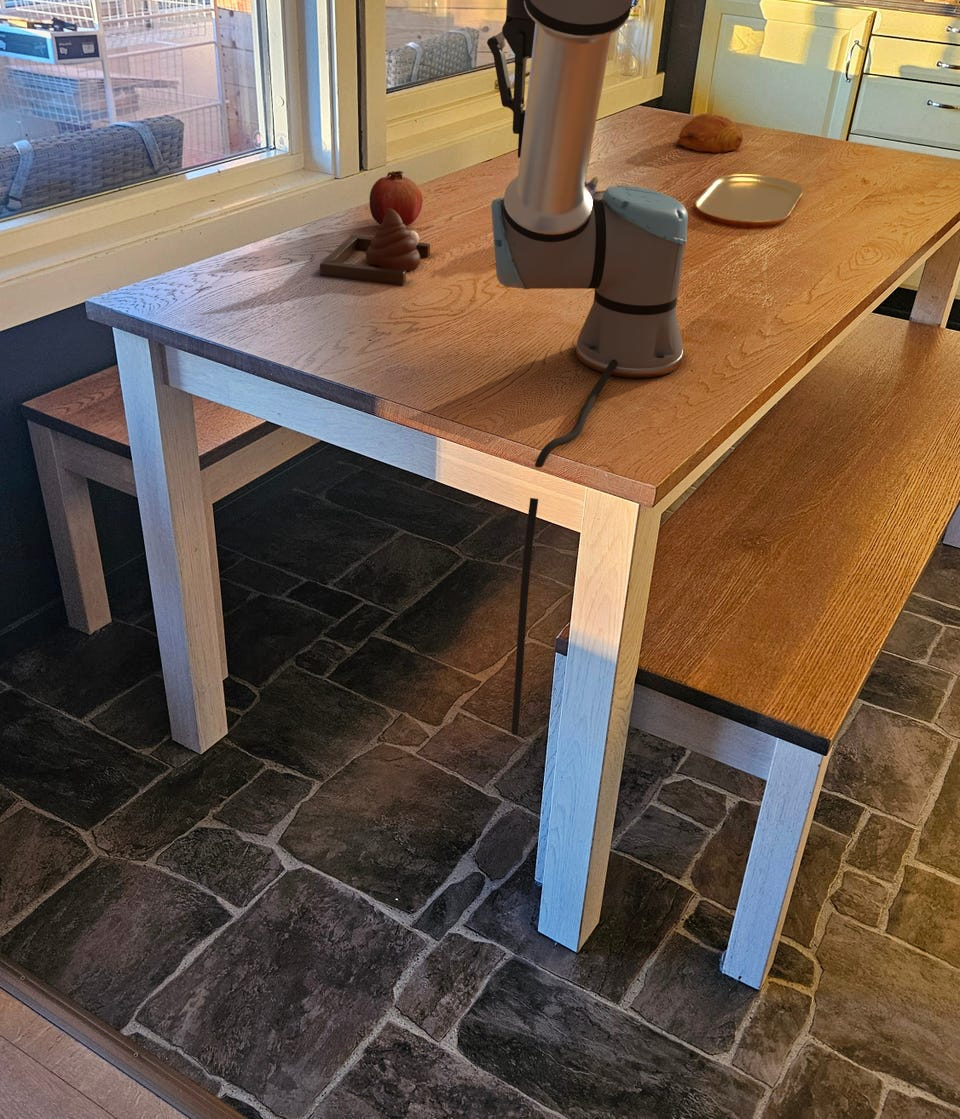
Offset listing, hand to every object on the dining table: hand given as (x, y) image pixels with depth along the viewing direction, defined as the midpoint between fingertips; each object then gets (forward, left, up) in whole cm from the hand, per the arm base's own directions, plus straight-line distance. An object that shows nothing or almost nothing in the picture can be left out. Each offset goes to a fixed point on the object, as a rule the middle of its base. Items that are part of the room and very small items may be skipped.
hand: (524, 155), depth 170 cm
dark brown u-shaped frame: (0, +25, -20) cm, 32 cm away
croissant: (+106, -24, -21) cm, 111 cm away
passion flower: (+30, -7, -21) cm, 37 cm away
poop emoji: (+1, +22, -21) cm, 30 cm away
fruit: (+21, +28, -21) cm, 41 cm away
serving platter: (+60, -36, -21) cm, 73 cm away
